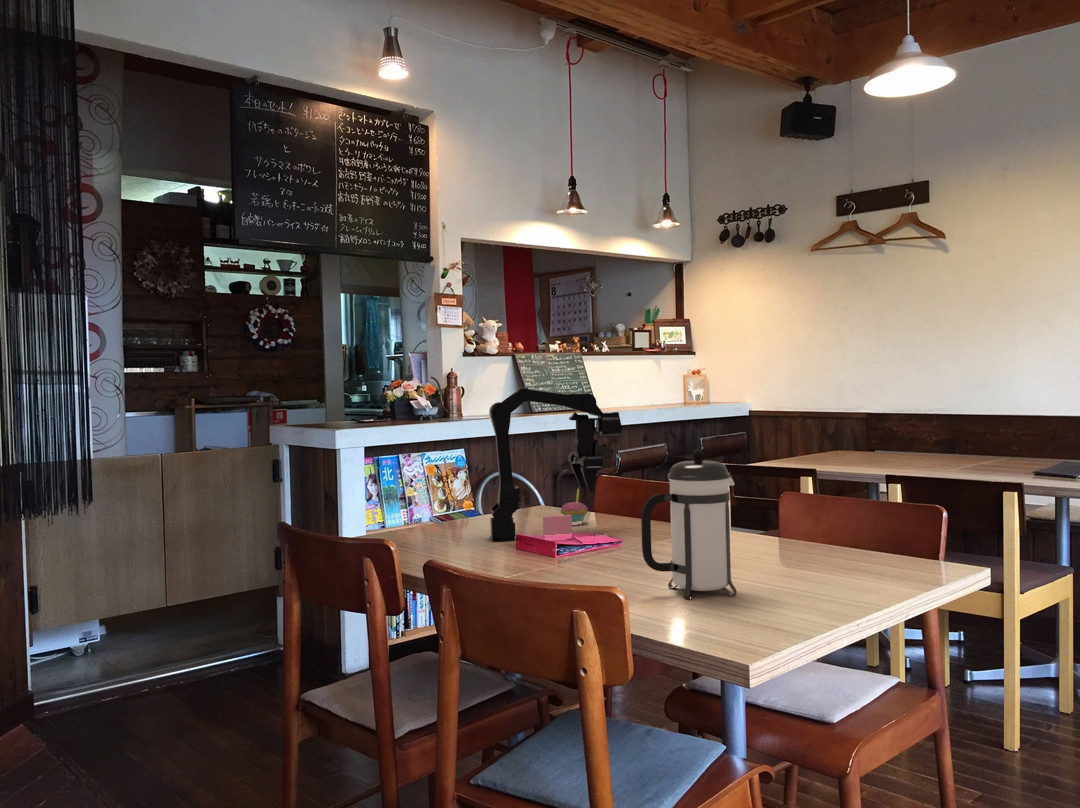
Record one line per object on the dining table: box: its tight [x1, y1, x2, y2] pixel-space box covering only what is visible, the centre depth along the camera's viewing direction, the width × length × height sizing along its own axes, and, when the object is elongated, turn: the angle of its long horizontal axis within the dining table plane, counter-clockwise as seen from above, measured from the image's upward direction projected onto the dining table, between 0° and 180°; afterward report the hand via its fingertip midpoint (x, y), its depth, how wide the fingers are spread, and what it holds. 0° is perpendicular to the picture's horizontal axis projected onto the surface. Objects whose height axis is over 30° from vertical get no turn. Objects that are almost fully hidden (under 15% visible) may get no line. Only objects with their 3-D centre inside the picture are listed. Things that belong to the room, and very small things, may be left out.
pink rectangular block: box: [542, 514, 573, 536], centre depth 241 cm, size 8×2×7 cm, turn 102°
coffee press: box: [640, 448, 738, 600], centre depth 176 cm, size 17×16×30 cm
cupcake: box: [560, 487, 589, 522], centre depth 267 cm, size 9×8×12 cm
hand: (585, 488), depth 248 cm, fingers open, 9 cm apart
